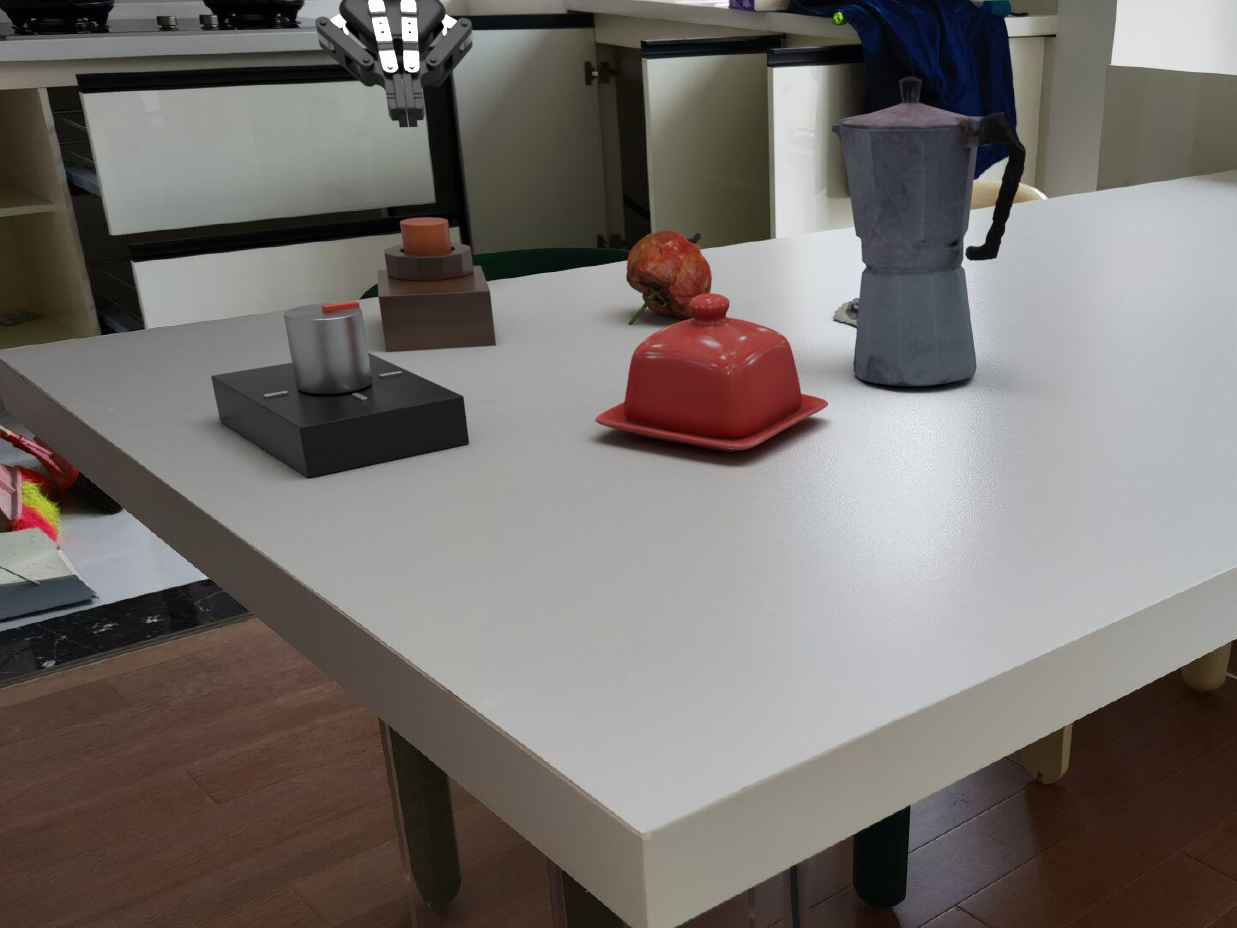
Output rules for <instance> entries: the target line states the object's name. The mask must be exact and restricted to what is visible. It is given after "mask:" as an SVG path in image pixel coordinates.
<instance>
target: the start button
mask: <svg viewBox="0 0 1237 928" xmlns="http://www.w3.org/2000/svg"><path fill="white" fill-rule="evenodd" d="M399 226H400V233H401V241H402V245H403V249H404V253H406V254H418V255H424V254H440V253H447V252H451V251H452V250H451V243H452V242H451V241H452V240H451V234H450V233H451V232H450V225H449V220H448V219H447V218H443V217H432V216H430V217H411V218H406V219H403V220H400V222H399Z"/></svg>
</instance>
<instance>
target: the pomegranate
mask: <svg viewBox="0 0 1237 928" xmlns="http://www.w3.org/2000/svg"><path fill="white" fill-rule="evenodd" d="M700 240H702V235H701V233H700V232H697V233H695V234H694V235H693V236H692V237H690V238H687V237H685V235H684V234H682V233H679V232H676V231H672V230H659V231H653V232H651V233H649V234H647V235H645V236H643V237H642V238H641V239H640V240H639V241H637V242H636V243H635V244H634V245H633V246H632V248H631V249H630V250H629V253H628V257H627V261H626V275H625V276H626V277H625V279H626V282H627V283H628V285H629V286H630V287H631V288H632V289H633V290H635V291H637V292H638V293H639V294H641V297H642V301H643V302H644V303H643V304H642V306H641V307H640V309H639V310H638V311H637V312H636V313H635V314H634V316H633V317H632V318H631V319H630V320H629V322H628V325H629V326H632V325H633V324H634V323H635V322H636V321H637V320H638V318H639V317H641V315H643V314H644V313H645V311H646V309H647V308H648V309H649V310H650V311H652V312H654V313H656V314H657V315H662V316H670V317H676V318H677V319H680V320H687V319H690V318H691V317H693V316H695V315H694V312H693V311H692V310H691V309H690V308H689V302H690V301H691V300H692V299H693V298H694V297H696V296H698V295H701V294H707V293H711V291H712V280H713V277H712V276H713V275H712V270H711V265H710V263H709V262H708V260H707V258H706V257H705V256H703V253H702V251H701V248H700V245H698V243H699V241H700Z"/></svg>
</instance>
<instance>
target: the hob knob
mask: <svg viewBox="0 0 1237 928" xmlns="http://www.w3.org/2000/svg"><path fill="white" fill-rule="evenodd" d="M360 306H361V305H360V302H359V301H356V300H351V301H343V302H336V303H335V302H334V303H329V302H328V303H314V304H307V305H306V304H305V305H301V306H297V307H293V308H290V309H288V310H286V311H284V313H283V319H284V325H285V331H286V336H287V341H288V346H289V347H288V348H289V353H290V359H291V363H292V365H293V371H294V376H295V382H296V387H297V389H298V390H300V391H302V392H306V393H311V394H339V393H347V392H352V391H357V390H360V389H363V388H365V387H368V386H369V385H371V383H372V376H371V369H370V363H369V356H368V353H369V350H368V343H367V336H366V330H365V329H366V328H365V324H364V323H365V322H364V316H363V311H362V308H361V307H360Z"/></svg>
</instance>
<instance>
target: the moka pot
mask: <svg viewBox="0 0 1237 928" xmlns="http://www.w3.org/2000/svg"><path fill="white" fill-rule="evenodd" d="M922 83H923V80H922V79H920V78H918V77H915V76H911V75H910V76H906V77H903V78H901V79H898V85H899V90H900V97H901V103H898V104H896V105H893V106H889V107H887V108H883V109H880V110H877V111H873V112H870V113H863V114H860V115H854V116H850V117H849V116H848V117H843V118H841V119H839V120H838V121H837V122H836V123H834V124H832V126H831V132H832V133H834V134H836V135H837V136H838V138H839V141H840V143H841V145H842V148H843V157H844V162H845V168H846V174H847V182H848V183H847V184H848V191H849V197H850V198H849V199H850V204H851V212H852V218H853V224H854V232H855V237H857V238H859V240H860V242H861V244H860V245H861V246H860V247H861V262H862V263H863V264H864V265H865V268H864V269H863V271H861V278H860V285H859V287H860V288H859V297H858V298H859V309H858V320H857V326H856V335H855V345H854V355H853V368H852V369H853V370H852V372H853V373H854V375H855V376H856V377H857V378H859V379H860V380H861V381H865V382H867V383H872V384H874V385H875V384H877V385H878V384H879V385H885V386H894V387H895V386H897V387H924V386H925V387H927V386H928V387H929V386H935V385H942V384H943V385H944V384H949V383H953V382H960V381H964V380H969V379H971V377H973V376H974V375H975V374H976V371H977V353H976V347H975V342H974V340H975V339H974V333H973V326H972V321H971V308H970V302H969V294H968V293H969V292H968V286H967V277H966V271H965V268H964V267H963V266H962V264H963V261H964V256H965V257H966V259H967V260H968V261H971V262H972V261H975V262H976V261H978V262H979V261H988V260H995V259H997V258H998V256H999V255H998V254H999V251H1000V247H1001V244H1002V238H1003V237H1004V235H1005V233H1006V224H1007V222H1008V220H1009V218H1010V216H1011V209H1012V207H1013V204H1014V200H1015V196H1016V195H1017V192H1018V190H1019V187H1020V183H1021V182H1022V180H1021V179H1022V177H1023V175H1024V172H1025V162H1026V156H1027V150H1026V147H1025V145H1024V144H1023V143H1022V142H1021V140H1020V138H1019V136H1018V134H1017V133H1016V131H1015V130H1014V129H1013V128H1011V126H1010V124H1011V123H1010V121H1009V120H1007V119H1006V118H1005V112H1004V111H999V112H996V113H991V114H988V115H985V116H968V115H964V114H961V113H956V112H952V111H950V110H949V111H948V110H946V109H941V108H938V107H935V106H930V105H928V104H924V103H922V102H920V96H921V90H922ZM1012 129H1013V130H1012ZM994 143H999V144H1002V145H1003V147H1004V148H1005V149H1006V151H1007V153H1008V154H1007V155H1008V158H1007V159H1008V160H1007V162H1006V165H1005V167H1004V168H1005V169H1004V172H1003V175H1002V177H1001V184H1000V187H999V190H998V195H997V198H996V200H995V202H994V205H995V206H994V209H993V213H992V219H991V220H992V223H991V225H990V227H989V229H988V231H987V233H986V235H985V240H984V243H983V244H982V245H979V246H978V245H977V246H975V245H969V246H967V247H966V248H964V247H965V246H964V245H965V244H964V240H965V237H966V234H967V232H968V230H969V225H970V217H971V207H972V198H973V189H974V188H973V187H974V179H975V171H976V163H977V154H978V147H987V146H990V145H992V144H994ZM964 249H965V251H964ZM964 252H965V254H964Z"/></svg>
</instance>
